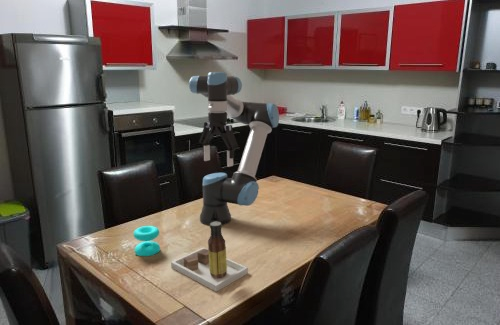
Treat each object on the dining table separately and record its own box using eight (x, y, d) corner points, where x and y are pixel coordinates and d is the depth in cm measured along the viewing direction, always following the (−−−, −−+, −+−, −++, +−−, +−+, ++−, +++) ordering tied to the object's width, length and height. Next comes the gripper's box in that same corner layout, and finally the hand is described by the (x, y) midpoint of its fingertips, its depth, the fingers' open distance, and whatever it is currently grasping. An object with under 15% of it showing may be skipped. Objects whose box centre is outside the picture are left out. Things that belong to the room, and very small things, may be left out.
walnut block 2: (197, 262, 149) (197, 252, 148) (204, 257, 152) (203, 248, 151) (206, 264, 147) (205, 255, 146) (212, 260, 150) (212, 251, 149)
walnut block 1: (183, 267, 145) (183, 257, 144) (193, 264, 147) (193, 254, 146) (188, 272, 142) (188, 262, 141) (198, 269, 144) (198, 259, 143)
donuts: (160, 232, 153) (134, 236, 150) (161, 255, 155) (136, 260, 152) (157, 223, 162) (132, 226, 159) (158, 245, 164) (133, 248, 161)
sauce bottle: (227, 269, 144) (226, 219, 139) (226, 279, 137) (226, 226, 133) (209, 270, 143) (208, 219, 138) (208, 279, 137) (207, 226, 132)
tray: (171, 269, 145) (171, 262, 145) (203, 254, 157) (203, 247, 156) (216, 293, 130) (216, 285, 129) (247, 275, 142) (247, 267, 141)
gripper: (189, 109, 160) (191, 159, 166) (233, 115, 145) (234, 170, 150) (203, 108, 166) (204, 156, 171) (247, 113, 150) (247, 166, 155)
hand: (218, 163), depth 160 cm, fingers open, 13 cm apart
